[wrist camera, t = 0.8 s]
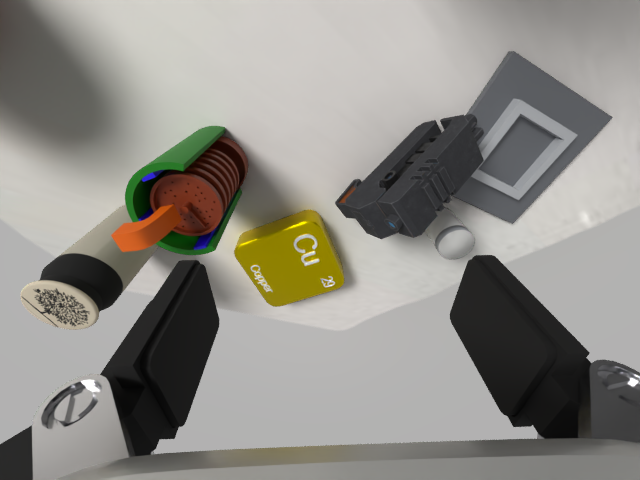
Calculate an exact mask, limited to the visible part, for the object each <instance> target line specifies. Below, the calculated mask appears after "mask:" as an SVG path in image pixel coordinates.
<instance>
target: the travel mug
mask: <svg viewBox="0 0 640 480" xmlns="http://www.w3.org/2000/svg"><path fill="white" fill-rule="evenodd" d="M124 223H132V220H131V218H130V216H129V214H128V211H127V208H126V205H124V206H122V207H120V208H119V209H117V210H116V211H115V212H113V213H112V214H111V215H110V216H108V217H107V218H106V219H105V220H103V221H102V222H101V223H100V224H98V225H97V226H96V227H95V228H93V229H92V230H91V231H90V232H88V233H87V234H86V235H85V236H83V237H82V238H81V239H80V240H78V241H77V242H76V243H75V244H73V245H72V246H71V247H70V248H68V249H67V250H66V251H65V252H63V253H62V254H61V255H60V256H58V257H57V258H56V259H55V260H53V261H52V262H51V263H50V264H48V265H47V266H46V267H45V268H44V269H43V271H42V274H41V278H40V280H39V281H35V282H32V283H30V284H28V285H26V286H25V287H24V288H23V289H22V291H21V301H22V303H23V305H24V307H25V308H26V309H27V310H28V311H29V312H30V313H31V314H32V315H33V316H35V317H36V318H38V319H40V320H41V321H43V322H45V323H47V324H50V325H52V326H55V327H60V328H64V329H75V330H76V329H84V328H87V327H90V326H92V325H93V324H94V323H96V321H97V320H98V317H99V312H100V311H101V310H104V309H106V308H108V307H110V306H111V305H113V303H114V302H115V301H116V300H117V298H118V297H119V296H120V295H121V293H122V292H123V291H124V290H125V288H126V287H127V286H128V285H129V283H130V282H131V281H132V280H133V278H134V277H135V276H136V274H137V273H138V272H139V271H140V269H141V268H142V267H143V266H144V264H145V263H146V262H147V261H148V259H149V258H150V257H151V256H152V254H153V253H154V252H155V251H156V249H157V248H158V247H159V246H158V245H156V244H154V245H152V246H150V247H148V248H146V249H142V250H138V251H128V252H122V251H121V249H120V248H119V246H118V245H117V244H116V242H115V241H114V239H113V238H112V236H111V235H112V234H113V233H114V232H115V231H116V230H117V229H118V228H119V227H120V226H121V225H123V224H124Z"/></svg>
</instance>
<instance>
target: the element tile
mask: <svg viewBox="0 0 640 480" xmlns="http://www.w3.org/2000/svg"><path fill="white" fill-rule="evenodd" d="M234 253H235V257H236V259H237V260H238V262H239V263H240V264H241V266H242V267H243V269H244V270H245V272H246V273H247V275H248V276H249V277H250V279H251V280H252V282H253V283H254V285H255V286H256V287H257V289H258V290H259V292H260V293H261V295H262V296H263V297H264V299H265V300H266V302H267V303H268V304H270V305H272V306H283V305H286V304H290V303H293V302H296V301H300V300H303V299H306V298H310V297H313V296H316V295H320V294H323V293H326V292H329V291H333V290H336V289H338V288H340V287H341V286H342V285H343V284H344V274H343V268H342V264H341V261H340V259H339V257H338V255H337V252H336V250H335V248H334V245H333V243H332V241H331V239H330V236H329V234H328V232H327V229H326V227H325V225H324V223H323V220H322V218H321V216H320V215H319V214H318V213H317V212H316V211H313V210H304V211H302V212H299V213H296V214H293V215H291V216H288V217H285V218H282V219H280V220H277V221H274V222H271V223H269V224H266V225H263V226H260V227H257V228H255V229H252V230H249V231H246V232H244V233H243V234H242V235H241V236H240V237H239V240H238V242H237V245H236V248H235V250H234Z"/></svg>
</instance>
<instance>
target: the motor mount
mask: <svg viewBox="0 0 640 480" xmlns="http://www.w3.org/2000/svg"><path fill="white" fill-rule="evenodd" d="M468 114H473V115H475V116H476V118H477V125H476V126H475V127H474V128H476V127H481V128H483V130H484V135H483V136H482V137H481V138H480V139H479V140H478V141H477V144H478V147H479V149H480V152H481V154H482V157H483V159H484V161H483V162H482V164H481V165H480V166H479V167H478V168H477V170H476V171H475V172H474V173H473V174H472V176H471V177H470V178H469V179H468V180H467V182H466V183H465V184H464V185H463V186H462V187H461V189H460V190H459V191H458V192H457V193H456V195H452V196H454V197H456V198H458V199H460V200H462V201H465V202H467V203H469V204H471V205H473V206H475V207H478V208H480V209H482V210H484V211H486V212H488V213H491V214H493V215H495V216H497V217H499V218H501V219H504V220H506V221H508V222H510V223H512V224H513V223H514V222H515V221H516V220H517V219H518V217H519V216H520V215H521V214H522V213H523V212H524V211H525V210H526V209H527V208H528V207H529V206H530V205H531V204H532V203H533V202H534V200H535V199H536V198H537V197H538V196H539V195H540V194H541V193H542V192H543V191H544V190H545V189H546V188H547V187H548V186H549V185H550V183H551V182H552V181H553V180H554V179H555V178H556V177H557V176H558V175H559V174H560V173H561V172H562V171H563V170H564V169H565V167H566V166H567V165H568V164H569V163H570V162H571V161H572V160H573V159H574V158H575V157H576V156H577V155H578V154H579V153H580V152H581V150H582V149H583V148H584V147H585V146H586V145H587V144H588V143H589V142H590V141H591V140H592V139H593V138H594V137H595V136H596V135H597V133H598V132H599V131H600V130H601V129H602V128H603V127H604V126H605V125H606V124H607V123H608V122H609V121H610V120H611V119H612V118H613V117H611V116H610V115H608V114H607V113H605V112H604V111H602V110H601V109H599V108H598V107H596V106H595V105H593V104H592V103H590V102H589V101H587V100H586V99H584V98H583V97H581V96H580V95H578V94H577V93H575V92H574V91H572V90H571V89H569V88H568V87H566V86H565V85H563V84H562V83H560V82H559V81H557V80H556V79H554V78H553V77H552V76H550V75H549V74H547V73H546V72H544V71H543V70H541V69H540V68H538V67H537V66H535V65H534V64H532V63H531V62H529V61H528V60H526V59H525V58H523V57H522V56H520V55H519V54H517V53H516V52H514V51H509V52H508V54H507V55H506V57H505V58H504V60H503V61H502V63H501V64H500V66H499V67H498V69H497V70H496V72H495V73H494V75H493V76H492V77H491V79H490V80H489V82H488V83H487V85H486V86H485V88H484V89H483V91H482V92H481V94H480V95H479V97H478V98H477V100H476V101H475V103H474V104H473V106H472V107H471V109H470V110H469V112H468V113H467V114H466V115H468ZM474 128H473V129H474Z"/></svg>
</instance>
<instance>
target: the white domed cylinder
mask: <svg viewBox="0 0 640 480" xmlns="http://www.w3.org/2000/svg"><path fill="white" fill-rule="evenodd" d="M436 214H437V215H438V216H437V217H436V218H435V219H434V221H433V222H432V223H431V224H430V225H429V226H428V227H427V229H426V230H425V232H426V233H427V235H428V236H429V238H430V239H431V241H432V242H433V244H434V245H435V247H436V249H437V251H438V252H439V254H440V255H441V256H442V257H444V258H446V259H458V258H461V257H463V256H465V255H466V254H468V253H469V252H470V251H471V250H472V248H473V246H474V243H475V238H474V236H473V234H472V233H471V232H470V231H469V230H468V229H467V228H466V227H465V226H464V225H463V224H462V223H461V221H460V220H459V219H458V218H457V217H456V216H455V215H454V214H453V213H452V212H451V211H450V210H449V209H446V208H444V209H443V210H442V211H441V212H440V211H436Z"/></svg>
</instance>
